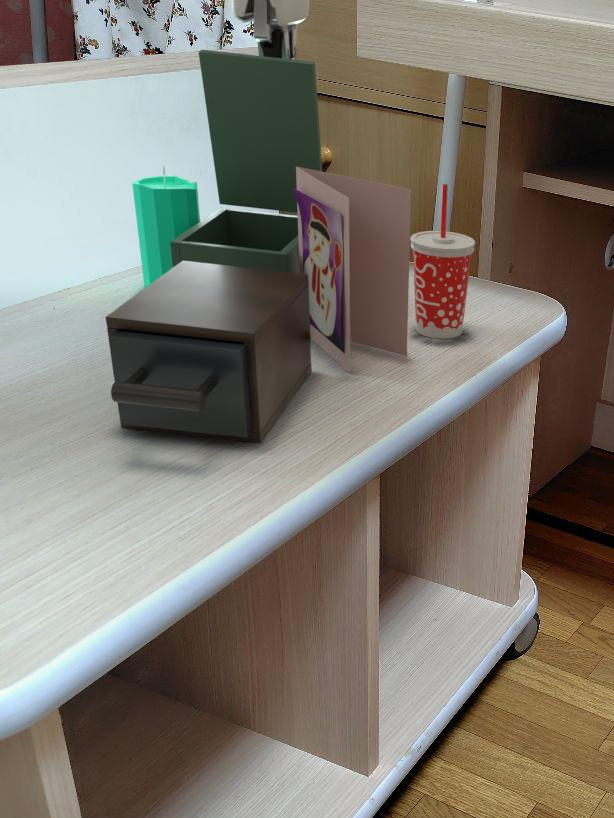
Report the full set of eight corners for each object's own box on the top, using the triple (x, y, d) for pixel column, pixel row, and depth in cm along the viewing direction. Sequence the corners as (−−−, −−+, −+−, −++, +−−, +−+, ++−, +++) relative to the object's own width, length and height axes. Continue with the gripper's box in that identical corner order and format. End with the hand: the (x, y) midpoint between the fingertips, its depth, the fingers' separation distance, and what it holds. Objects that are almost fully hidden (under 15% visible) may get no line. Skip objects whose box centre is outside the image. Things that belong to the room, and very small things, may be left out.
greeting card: (293, 331, 94) (286, 166, 86) (364, 322, 98) (364, 164, 90) (341, 374, 86) (338, 198, 79) (417, 364, 90) (422, 194, 82)
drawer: (227, 464, 69) (220, 373, 65) (94, 449, 69) (80, 357, 65) (297, 370, 84) (294, 292, 80) (188, 358, 84) (180, 279, 81)
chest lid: (312, 64, 90) (315, 61, 91) (198, 51, 90) (201, 49, 91) (323, 215, 100) (325, 212, 100) (219, 204, 100) (222, 201, 100)
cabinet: (260, 443, 74) (253, 333, 70) (120, 427, 74) (105, 317, 70) (311, 371, 86) (308, 274, 82) (191, 357, 87) (182, 260, 82)
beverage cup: (399, 322, 99) (401, 177, 92) (455, 317, 102) (461, 176, 94) (422, 344, 94) (427, 193, 87) (480, 338, 97) (489, 191, 90)
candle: (171, 300, 98) (158, 175, 92) (131, 286, 101) (116, 163, 94) (218, 288, 103) (209, 168, 96) (179, 274, 105) (167, 156, 99)
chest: (289, 337, 93) (286, 254, 89) (178, 325, 93) (169, 241, 89) (325, 293, 104) (324, 218, 100) (226, 282, 104) (221, 207, 100)
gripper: (254, -117, 95) (265, 89, 105) (199, -126, 83) (217, 110, 92) (331, -109, 95) (335, 96, 105) (288, -116, 83) (297, 118, 92)
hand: (280, 102), depth 99 cm, fingers closed
